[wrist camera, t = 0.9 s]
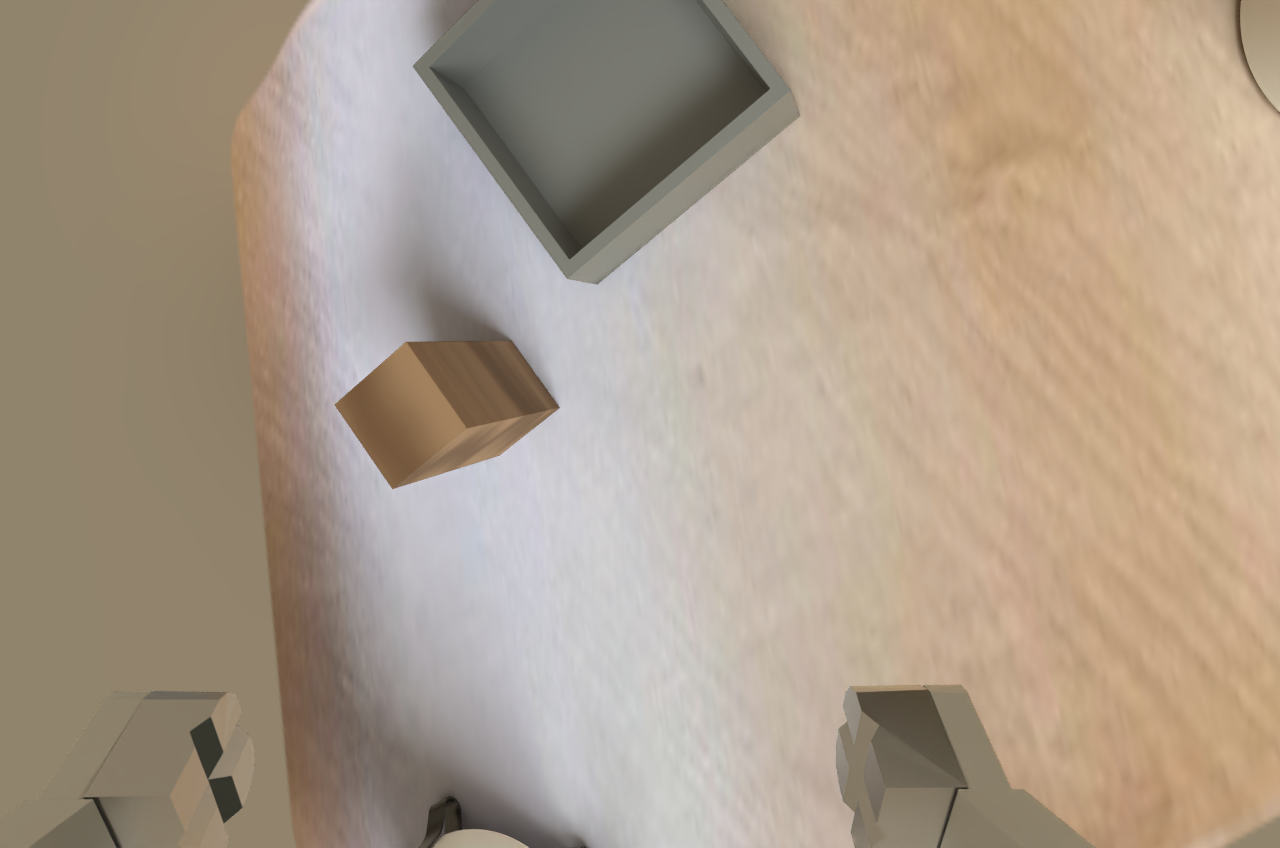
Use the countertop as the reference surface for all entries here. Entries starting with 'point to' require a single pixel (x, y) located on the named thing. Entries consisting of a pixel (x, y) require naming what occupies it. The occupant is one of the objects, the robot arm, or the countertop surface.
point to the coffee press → (460, 830)
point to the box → (605, 113)
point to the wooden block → (444, 407)
